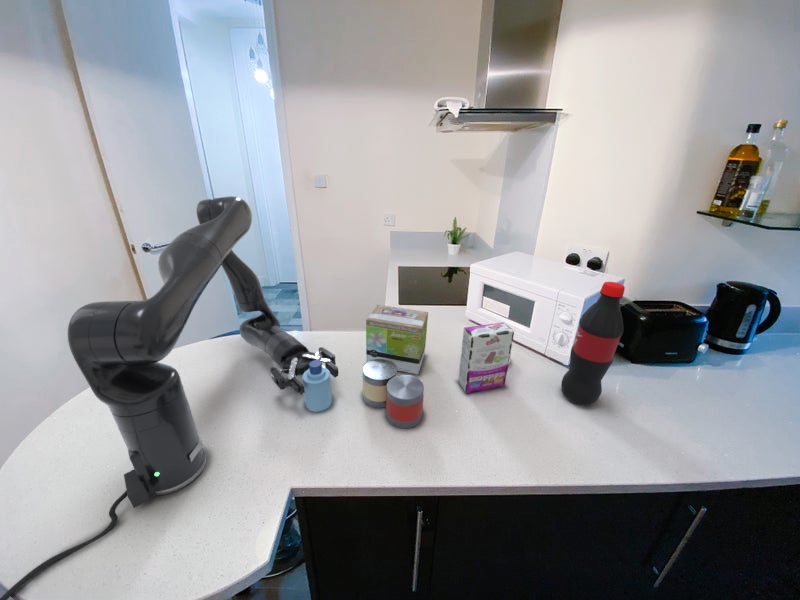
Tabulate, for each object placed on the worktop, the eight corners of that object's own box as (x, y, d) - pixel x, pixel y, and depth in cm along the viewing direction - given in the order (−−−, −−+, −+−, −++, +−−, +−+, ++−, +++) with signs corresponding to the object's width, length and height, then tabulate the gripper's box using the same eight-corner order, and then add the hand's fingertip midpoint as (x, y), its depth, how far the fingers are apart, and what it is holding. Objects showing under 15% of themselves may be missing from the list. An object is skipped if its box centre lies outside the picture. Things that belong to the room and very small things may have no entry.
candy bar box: (494, 375, 85) (504, 321, 78) (504, 387, 80) (516, 331, 74) (456, 381, 82) (463, 326, 75) (464, 394, 78) (473, 336, 71)
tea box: (365, 366, 87) (364, 319, 81) (376, 347, 96) (376, 303, 90) (419, 375, 84) (422, 327, 78) (425, 355, 93) (428, 310, 87)
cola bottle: (592, 389, 81) (630, 279, 68) (601, 412, 73) (646, 293, 61) (556, 382, 83) (587, 274, 70) (562, 404, 75) (597, 288, 63)
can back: (378, 413, 71) (378, 384, 68) (356, 395, 76) (355, 367, 73) (403, 396, 76) (404, 369, 73) (381, 380, 81) (381, 354, 78)
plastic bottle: (314, 416, 70) (309, 375, 65) (301, 401, 74) (295, 363, 69) (337, 403, 74) (334, 364, 69) (323, 390, 78) (320, 352, 73)
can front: (403, 434, 66) (405, 405, 62) (378, 413, 71) (378, 385, 68) (429, 415, 71) (431, 387, 68) (404, 397, 76) (405, 369, 73)
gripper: (256, 349, 74) (288, 382, 64) (310, 329, 83) (346, 355, 73) (260, 375, 77) (292, 410, 67) (312, 353, 86) (347, 381, 76)
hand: (320, 381), depth 70 cm, fingers open, 8 cm apart
